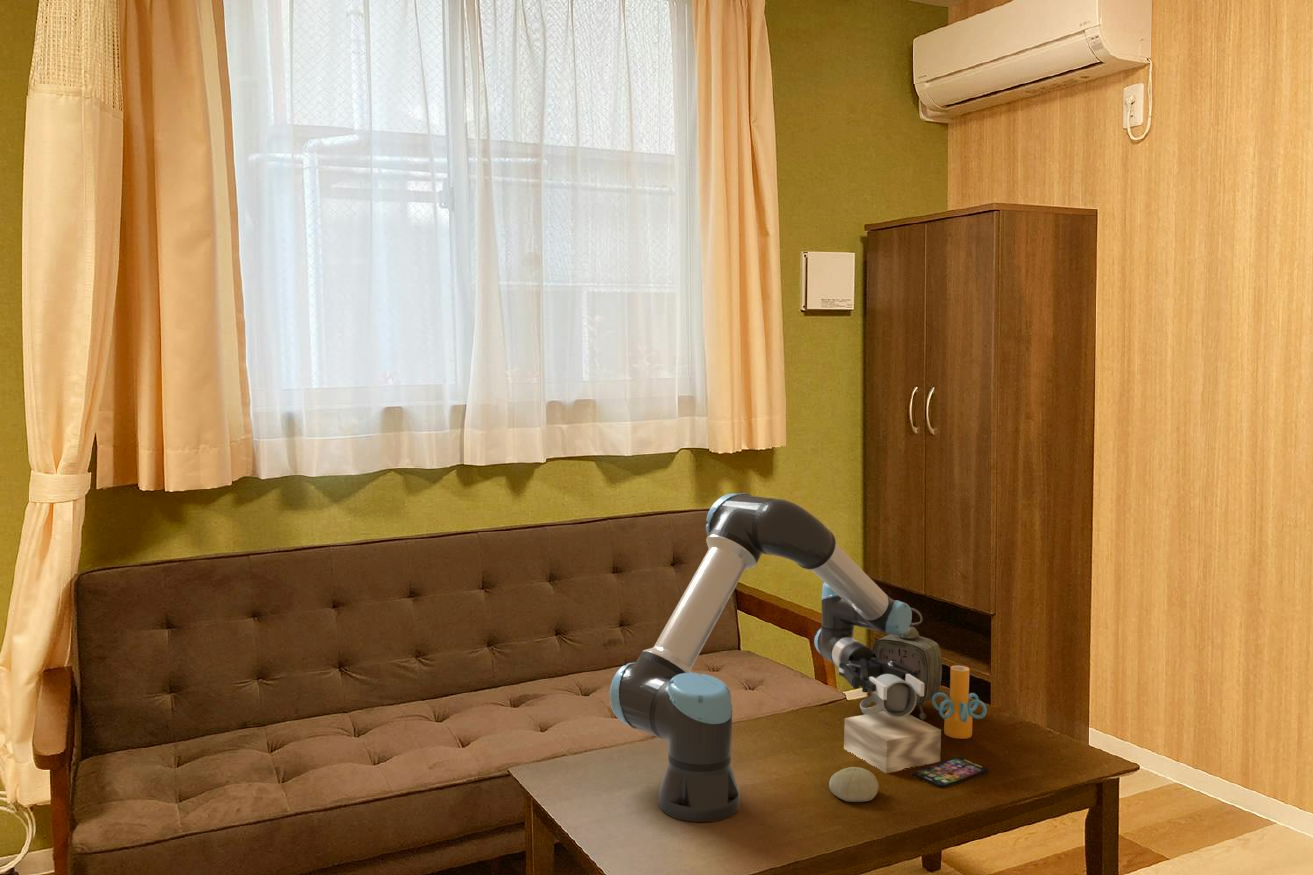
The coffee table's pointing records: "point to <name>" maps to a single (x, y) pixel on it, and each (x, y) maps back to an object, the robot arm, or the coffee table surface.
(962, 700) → the ring toss post
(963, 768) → the smartphone
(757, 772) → the coffee table surface
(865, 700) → the ceramic mug
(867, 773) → the sea urchin shell
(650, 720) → the robot arm
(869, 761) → the birch block
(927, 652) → the tabletop clock
